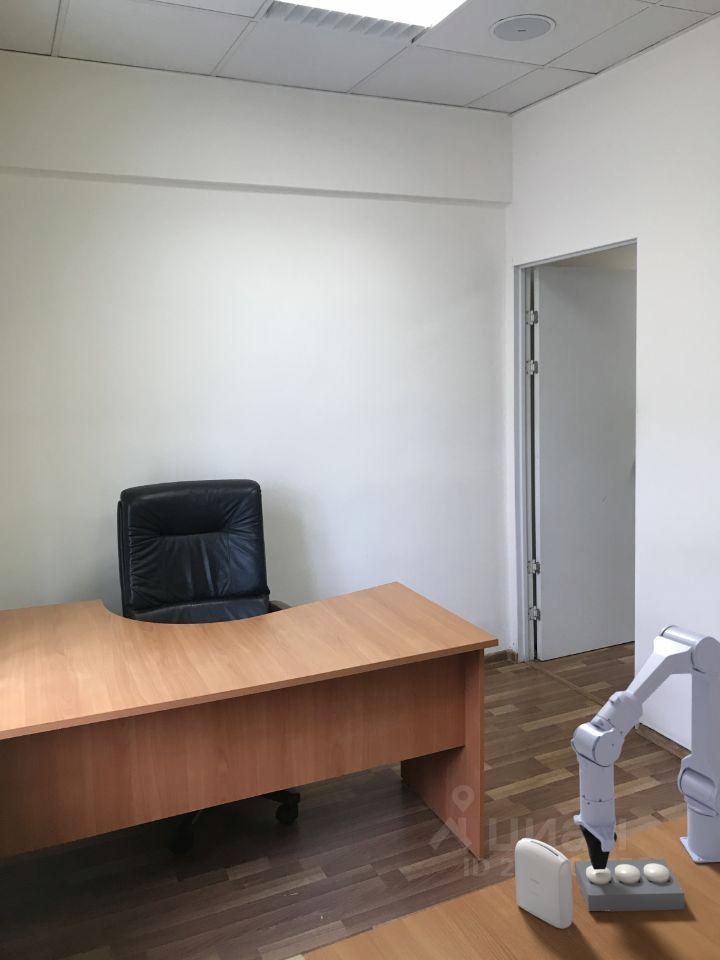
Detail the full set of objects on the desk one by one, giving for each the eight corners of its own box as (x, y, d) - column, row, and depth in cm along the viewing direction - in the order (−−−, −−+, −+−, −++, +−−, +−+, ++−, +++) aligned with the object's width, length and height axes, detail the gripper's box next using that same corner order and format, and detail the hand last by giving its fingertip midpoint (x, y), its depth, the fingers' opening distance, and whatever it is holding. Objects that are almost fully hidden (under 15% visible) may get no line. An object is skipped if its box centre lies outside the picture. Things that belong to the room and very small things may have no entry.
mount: (664, 874, 147) (664, 858, 147) (684, 909, 138) (684, 893, 137) (575, 876, 148) (574, 861, 148) (588, 912, 138) (588, 895, 138)
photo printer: (512, 905, 141) (510, 837, 140) (528, 894, 144) (526, 828, 142) (561, 933, 133) (559, 862, 132) (577, 922, 136) (575, 852, 134)
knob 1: (607, 885, 145) (607, 864, 145) (614, 900, 141) (613, 878, 140) (584, 885, 145) (583, 865, 145) (589, 900, 141) (589, 879, 141)
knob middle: (636, 884, 145) (635, 863, 144) (643, 899, 141) (643, 878, 140) (612, 885, 145) (611, 864, 145) (618, 899, 141) (618, 878, 140)
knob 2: (664, 883, 145) (664, 863, 144) (672, 898, 140) (672, 877, 140) (640, 884, 145) (640, 863, 144) (648, 899, 141) (647, 877, 140)
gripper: (564, 774, 148) (566, 844, 150) (583, 816, 134) (585, 893, 135) (603, 773, 148) (605, 843, 150) (627, 814, 134) (628, 892, 135)
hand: (598, 867), depth 142 cm, fingers closed
